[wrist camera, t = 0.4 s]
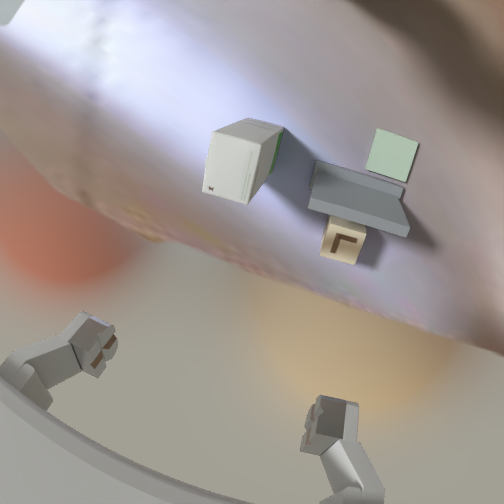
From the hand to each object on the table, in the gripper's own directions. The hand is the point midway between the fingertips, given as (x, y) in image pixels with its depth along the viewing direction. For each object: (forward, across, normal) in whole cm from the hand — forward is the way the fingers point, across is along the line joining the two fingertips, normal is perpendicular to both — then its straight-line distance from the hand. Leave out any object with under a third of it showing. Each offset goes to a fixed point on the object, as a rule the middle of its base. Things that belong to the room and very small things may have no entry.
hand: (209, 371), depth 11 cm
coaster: (+44, -13, -1) cm, 46 cm away
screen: (+44, -9, +6) cm, 45 cm away
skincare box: (+44, +8, +3) cm, 45 cm away
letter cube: (+44, -9, +14) cm, 47 cm away
